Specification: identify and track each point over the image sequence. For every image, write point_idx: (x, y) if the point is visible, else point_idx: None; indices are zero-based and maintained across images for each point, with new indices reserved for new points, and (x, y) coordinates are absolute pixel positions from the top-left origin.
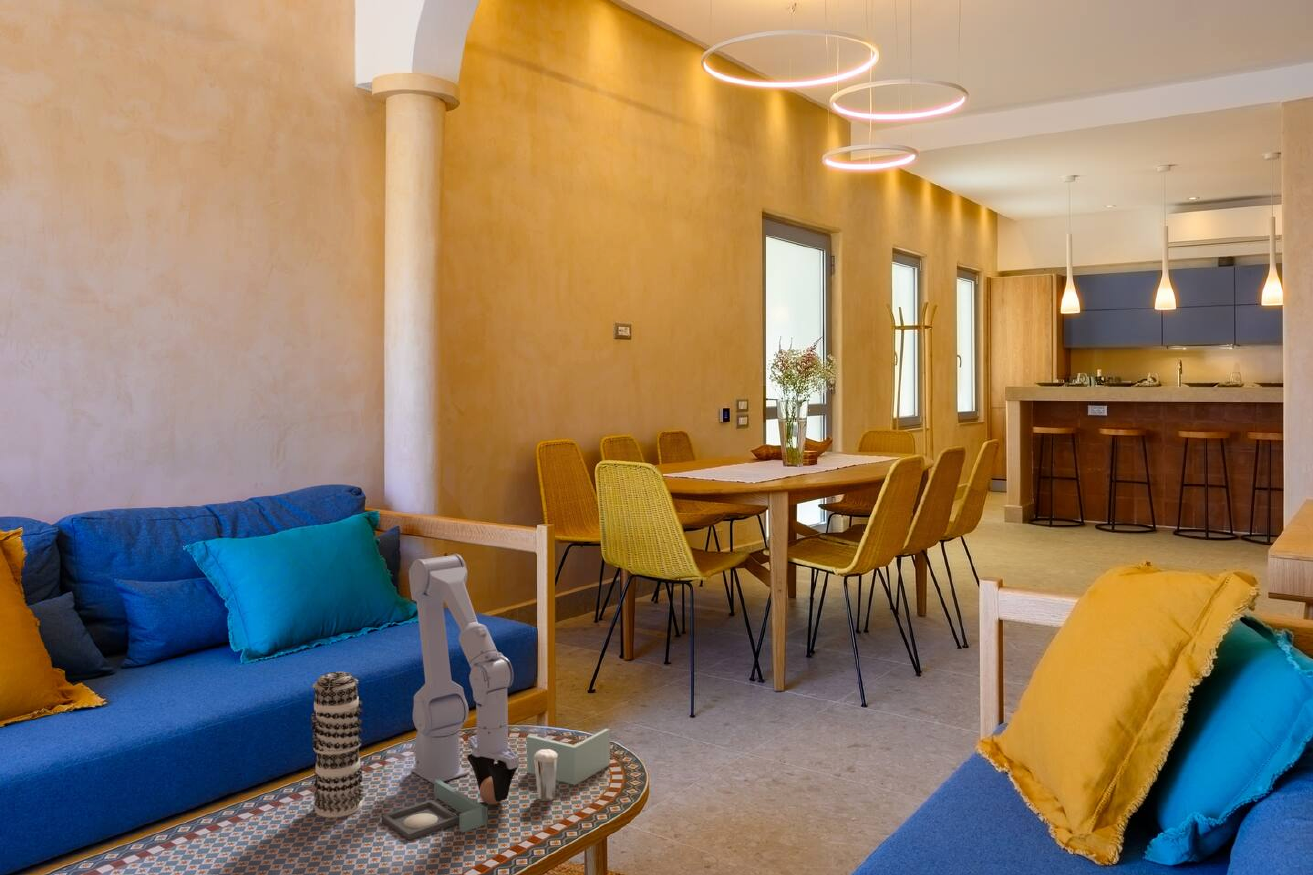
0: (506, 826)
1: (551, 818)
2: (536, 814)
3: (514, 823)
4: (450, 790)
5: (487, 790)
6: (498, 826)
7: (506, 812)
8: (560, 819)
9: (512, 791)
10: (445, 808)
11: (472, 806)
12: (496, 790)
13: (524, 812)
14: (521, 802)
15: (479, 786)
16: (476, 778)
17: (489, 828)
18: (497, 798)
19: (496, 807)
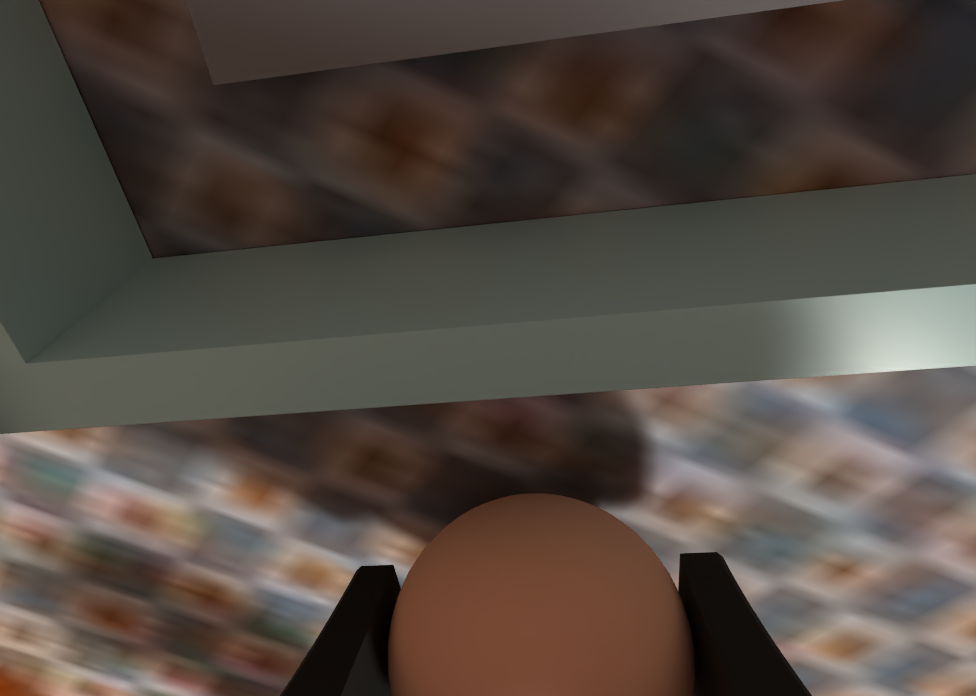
0: None
1: (72, 662)
2: (172, 634)
3: (60, 487)
4: (920, 289)
5: (442, 620)
6: None
7: (303, 526)
8: (40, 683)
9: None
10: (628, 21)
11: (223, 324)
12: (294, 680)
13: (240, 603)
14: None
15: (712, 603)
16: (789, 686)
17: None
18: (345, 594)
19: (446, 513)
